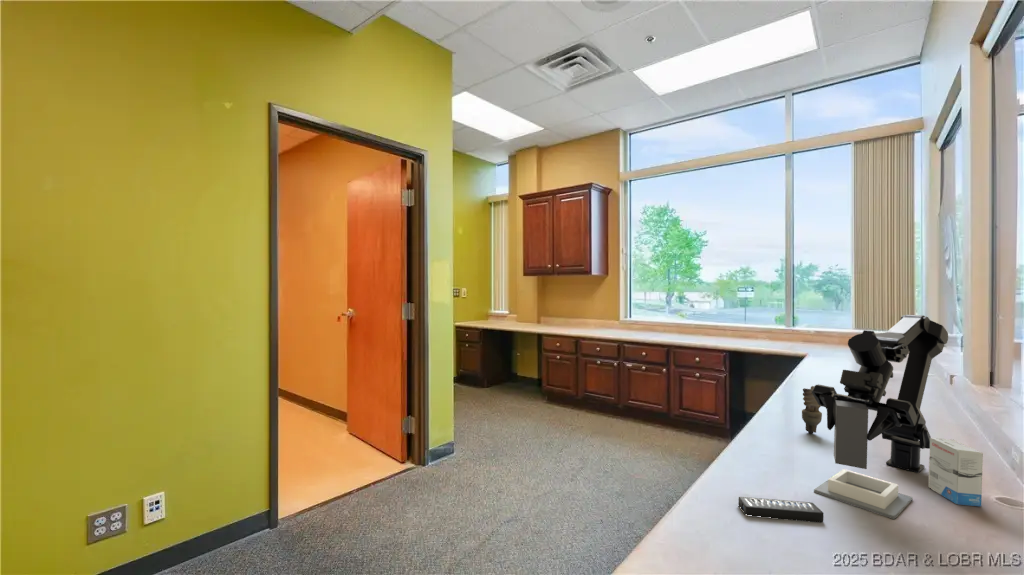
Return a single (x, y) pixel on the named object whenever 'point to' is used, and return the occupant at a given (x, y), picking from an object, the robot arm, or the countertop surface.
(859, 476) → the socket board
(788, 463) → the countertop surface
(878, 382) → the robot arm
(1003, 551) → the countertop surface
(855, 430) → the plug
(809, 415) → the light bulb
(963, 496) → the ink box
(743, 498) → the multiport hub
